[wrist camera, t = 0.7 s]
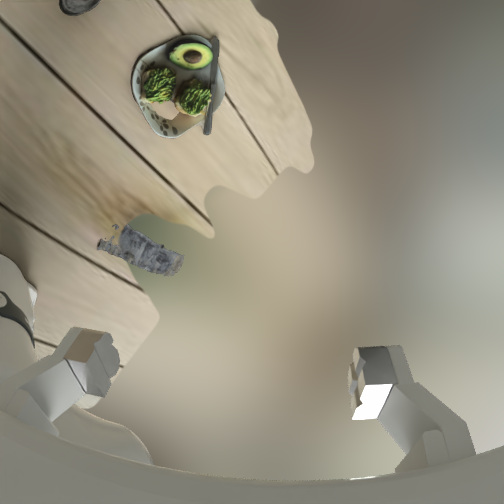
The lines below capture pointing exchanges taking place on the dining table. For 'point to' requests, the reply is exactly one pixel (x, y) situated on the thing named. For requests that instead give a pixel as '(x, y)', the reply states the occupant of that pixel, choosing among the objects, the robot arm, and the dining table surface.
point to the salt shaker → (77, 6)
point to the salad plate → (180, 83)
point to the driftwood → (143, 252)
